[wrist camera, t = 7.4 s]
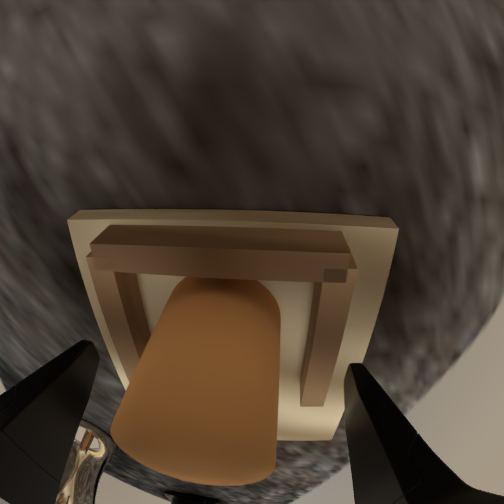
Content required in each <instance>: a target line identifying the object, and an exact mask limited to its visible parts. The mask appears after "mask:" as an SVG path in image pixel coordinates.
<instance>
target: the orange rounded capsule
mask: <svg viewBox="0 0 504 504" xmlns="http://www.w3.org/2000/svg"><path fill="white" fill-rule="evenodd" d="M280 335H281V314H280V309H279V306H278V303H277V301H276V300H275V298H274V296H273V295H272V294H271V292H270V291H269V290H268V289H267V288H266V287H265V286H264V285H262V284H261V283H260V282H259V281H257V280H243V279H223V278H204V277H185V278H184V279H183V280H181V281H180V282H179V283H178V284H177V285H176V286H175V288H174V289H173V291H172V293H171V295H170V297H169V299H168V301H167V303H166V305H165V307H164V309H163V311H162V314H161V316H160V318H159V320H158V322H157V324H156V326H155V328H154V330H153V332H152V334H151V337H150V339H149V341H148V343H147V345H146V347H145V350H144V352H143V354H142V356H141V358H140V360H139V363H138V365H137V367H136V369H135V371H134V374H133V376H132V378H131V380H130V383H129V385H128V387H127V390H126V392H125V394H124V396H123V399H122V401H121V403H120V406H119V408H118V410H117V413H116V415H115V417H114V420H113V422H112V425H111V428H110V432H111V436H112V438H113V440H114V441H115V443H116V444H117V445H118V446H119V447H120V448H121V449H122V450H123V451H124V452H125V453H126V454H127V455H129V456H130V457H132V458H133V459H134V460H136V461H138V462H139V463H141V464H143V465H145V466H147V467H148V468H150V469H153V470H155V471H157V472H160V473H162V474H165V475H168V476H171V477H174V478H177V479H181V480H184V481H189V482H193V483H199V484H206V485H217V486H235V485H244V484H250V483H254V482H258V481H260V480H263V479H265V478H267V477H268V476H270V475H271V474H272V473H273V472H274V470H275V467H276V450H277V428H278V404H279V374H280Z"/></svg>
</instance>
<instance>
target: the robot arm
mask: <svg viewBox="0 0 504 504" xmlns="http://www.w3.org/2000/svg"><path fill="white" fill-rule="evenodd" d="M99 361H100V358H99V354H98V352H97V350H96V348H95V345H94V343H93V342H92V341H89V340H81V341H79V342H78V343H76V344H75V345H73V346H72V347H70V348H69V349H67V350H66V351H65V352H63V353H62V354H60V355H59V356H57V357H56V358H54V359H53V360H51V361H50V362H48V363H47V364H45V365H44V366H42V367H41V368H39V369H38V370H36V371H35V372H34V373H32V374H31V375H29V376H28V377H26V378H25V379H23V380H22V381H20V382H19V383H17V384H16V386H13V387H12V388H10V389H9V390H7V391H6V392H4V393H3V394H1V395H0V504H55V503H56V499H57V495H58V491H59V488H60V484H61V481H62V477H63V474H64V470H65V467H66V464H67V461H68V458H69V454H70V451H71V448H72V445H73V442H74V439H75V436H76V433H77V430H78V428H79V425H80V422H81V419H82V416H83V414H84V411H85V408H86V406H87V403H88V400H89V397H90V394H91V391H92V387H93V383H94V380H95V376H96V372H97V369H98V365H99ZM344 408H345V428H346V435H347V442H348V449H349V457H350V465H351V473H352V480H353V490H354V499H355V504H504V496H501V495H496V494H492V493H489V492H485V491H481V490H477V489H475V488H473V487H471V486H469V485H467V484H466V483H465V482H464V481H462V480H461V479H460V478H459V477H458V476H457V475H456V474H455V473H454V472H453V471H452V470H451V469H450V468H449V467H448V466H447V465H446V464H445V463H444V462H443V461H442V460H441V459H440V458H439V457H438V456H437V455H436V454H435V453H434V452H433V451H432V449H431V448H430V447H429V446H428V445H427V444H426V442H425V441H424V440H423V439H422V437H421V436H420V435H419V434H417V431H416V430H415V429H414V427H413V426H412V425H411V424H410V422H409V421H408V420H407V419H406V417H405V416H404V415H403V414H402V412H401V411H400V410H399V408H398V407H397V406H396V405H395V403H394V402H393V401H392V400H391V398H390V397H389V396H388V395H387V394H386V392H385V391H384V390H383V389H382V387H381V386H380V385H379V384H378V382H377V381H376V380H375V379H374V377H373V376H372V375H371V374H370V372H369V371H368V370H367V369H366V367H365V366H364V365H363V364H362V363H350V364H349V365H348V368H347V372H346V375H345V378H344ZM164 495H165V496H166V497H167V498H168V499H169V500H170V501H171V504H220V502H219V501H218V500H215V499H207V498H201V497H194V496H188V495H183V494H178V493H172V492H167V491H165V494H164Z"/></svg>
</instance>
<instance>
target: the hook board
mask: <svg viewBox="0 0 504 504" xmlns="http://www.w3.org/2000/svg"><path fill="white" fill-rule="evenodd" d="M67 222H68V226H69V230H70V234H71V239H72V243H73V246H74V250H75V254H76V258H77V261H78V265H79V268H80V272H81V275H82V278H83V282H84V285H85V288H86V291H87V294H88V297H89V300H90V303H91V306H92V309H93V312H94V315H95V318H96V320H97V323H98V326H99V328H100V331H101V334H102V336H103V339H104V342H105V344H106V347H107V349H108V351H109V354H110V356H111V359H112V361H113V363H114V366H115V368H116V370H117V373H118V375H119V377H120V379H121V382H122V384H123V386H124V388H125V390H127V387H128V385H129V383H130V380H131V378H132V376H133V374H134V371H135V369H136V367H137V365H138V363H139V360H140V358H141V356H142V354H143V352H144V350H145V347H146V345H147V343H148V341H149V339H150V337H151V334H152V332H153V330H154V328H155V326H156V324H157V322H158V320H159V318H160V316H161V314H162V311H163V309H164V307H165V305H166V303H167V301H168V299H169V297H170V295H171V293H172V291H173V289H174V288H175V286H176V285H177V284H178V283H179V282H180V281H181V280H183V279H184V278H185V277H204V278H223V279H243V280H257V281H259V282H260V283H261V284H262V285H264V286H265V287H266V288H267V289H268V290H269V291H270V292H271V294H272V295H273V296H274V298H275V300H276V301H277V303H278V306H279V309H280V314H281V335H280V374H279V404H278V428H277V440H332V438H333V435H334V433H335V431H336V429H337V426H338V424H339V422H340V419H341V417H342V415H343V412H344V410H345V408H344V378H345V375H346V372H347V368H348V365H349V364H350V363H362V362H363V359H364V356H365V354H366V351H367V348H368V345H369V341H370V338H371V335H372V332H373V329H374V326H375V322H376V319H377V316H378V312H379V309H380V305H381V302H382V298H383V295H384V291H385V287H386V283H387V279H388V275H389V271H390V267H391V263H392V259H393V254H394V250H395V245H396V241H397V236H398V231H399V228H398V227H397V226H396V224H395V223H394V222H393V220H392V219H391V218H390V217H378V216H363V215H346V214H329V213H309V212H285V211H257V210H216V209H102V210H79V211H78V212H77V213H75V214H74V215H73V216H71V217H70V218H69V219H67Z"/></svg>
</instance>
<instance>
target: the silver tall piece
mask: <svg viewBox="0 0 504 504" xmlns="http://www.w3.org/2000/svg"><path fill="white" fill-rule="evenodd" d="M116 447H117V446H116V443H115V442H114V440H113V439H112V438H111V437H110V436H109V435H107V434H106V433H105V432H103V431H102V430H101V429H99V428H97V427H96V426H94V425H92V424H91V423H89V422H87V421H85V420H83V419H81V422H80V425H79V428H78V430H77V433H76V436H75V439H74V442H73V445H72V448H71V451H70V454H69V458H68V461H67V464H66V467H65V470H64V474H63V477H62V481H61V484H60V488H59V491H58V495H57V499H56V503H55V504H96V503H97V494H98V488H99V483H100V479H101V476H102V474H103V471H104V469H105V467H106V465H107V464H108V462H109V460H110V459H111V457H112V456H113V454H114V452H115V451H116Z"/></svg>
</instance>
